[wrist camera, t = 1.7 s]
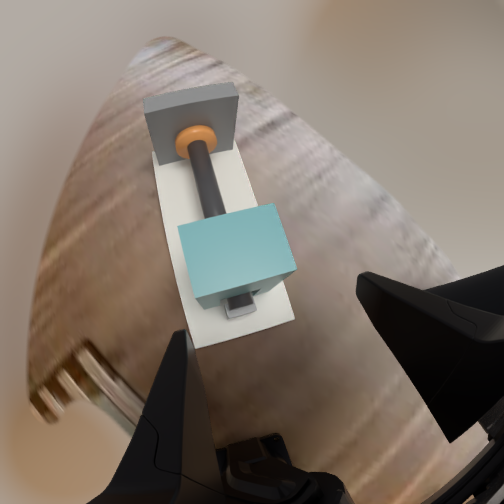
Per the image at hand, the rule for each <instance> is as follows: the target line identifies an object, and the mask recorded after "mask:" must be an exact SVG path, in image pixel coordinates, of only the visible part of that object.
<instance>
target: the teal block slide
mask: <svg viewBox="0 0 504 504" xmlns="http://www.w3.org/2000/svg"><path fill="white" fill-rule="evenodd" d="M238 99H239V95H238V92H237V90H236V88H235V86H234V83H233V82H228V83H220V84H213V85H206V86H200V87H194V88H189V89H184V90H179V91H174V92H169V93H165V94H161V95H156V96H152V97H148V98H145V99H143V104H144V115H145V118H146V122H147V126H148V129H149V133H150V136H151V140H152V143H153V147H154V150H155V151H153V152H152V156H153V163H154V170H155V177H156V183H157V189H158V195H159V201H160V206H161V211H162V217H163V222H164V227H165V232H166V237H167V242H168V246H169V251H170V255H171V260H172V264H173V268H174V273H175V277H176V281H177V285H178V289H179V293H180V297H181V300H182V304H183V308H184V312H185V315H186V319H187V322H188V326H189V329H190V333H191V336H192V340H193V343H194V346H195V349H197V348H201V347H205V346H208V345H212V344H216V343H219V342H223V341H227V340H230V339H234V338H237V337H240V336H244V335H247V334H250V333H254V332H257V331H260V330H263V329H267V328H270V327H273V326H276V325H279V324H282V323H285V322H288V321H291V320H294V319H295V317H294V314H293V311H292V308H291V305H290V301H289V298H288V295H287V292H286V289H285V286H284V283H283V281H281V282H280V283H279V284H278V285H276V286H275V287H274V288H272V289H271V290H270V291H268V292H265V293H262V294H258V295H255V296H253V294H252V291H251V292H247V293H244V294H240V295H237V296H233V297H230V298H226V299H223V300H220V306H216V307H213V308H209V309H205V310H204V309H203V308H202V307H201V305H200V304H199V303H198V301H197V300H196V299H195V297H194V293H193V289H192V285H191V281H190V278H189V274H188V270H187V266H186V262H185V258H184V253H183V249H182V245H181V241H180V236H179V232H178V227H177V226H179V225H183V224H187V223H191V222H195V221H199V220H203V219H207V218H211V217H215V216H219V215H223V214H227V213H231V212H236V211H240V210H244V209H249V208H253V207H258V205H257V202H256V199H255V196H254V193H253V190H252V187H251V185H250V182H249V179H248V176H247V173H246V170H245V167H244V165H243V162H242V159H241V156H240V153H239V150H238V148H237V145H236V142H235V139H234V133H235V124H236V116H237V107H238Z"/></svg>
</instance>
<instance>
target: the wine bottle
mask: <svg viewBox="0 0 504 504" xmlns="http://www.w3.org/2000/svg"><path fill="white" fill-rule="evenodd" d="M423 291H426V292H428V293H431V294H434V295H437V296H440V297H442V298H445V299H448V300H451V301H453V302H456V303H459V304H462V305H465V306H468V307H472V308H475V309H478V310H482V311H486V312H489V313H493V314H496V315H500V316H504V265H503V266H500V267H497V268H495V269H492V270H489V271H486V272H483V273H480V274H477V275H473V276H470V277H468V278H464V279H461V280H458V281H454V282H451V283H447V284H444V285H441V286H437V287H433V288H430V289H426V290H423Z"/></svg>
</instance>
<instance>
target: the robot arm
mask: <svg viewBox="0 0 504 504" xmlns="http://www.w3.org/2000/svg"><path fill="white" fill-rule="evenodd" d="M356 295H357V298H358V299H359V301H360V303H361V305H362V306H363V308H364V310H365V312H366V313H367V315H368V317H369V319H370V320H371V322H372V324H373V326H374V327H375V329H376V330H377V332H378V333H379V334H380V336H381V337H382V339H383V340H384V342H385V343H386V344H387V346H388V347H389V349H390V350H391V352H392V353H393V355H394V356H395V357H396V359H397V360H398V362H399V363H400V365H401V366H402V368H403V369H404V371H405V372H406V374H407V375H408V377H409V378H410V380H411V381H412V383H413V385H414V386H415V388H416V389H417V391H418V392H419V394H420V395H421V397H422V399H423V400H424V402H425V403H426V405H427V407H428V408H429V410H430V412H431V413H432V415H433V417H434V418H435V420H436V422H437V423H438V425H439V427H440V428H441V430H442V432H443V433H444V435H445V437H446V438H447V440H448V442H449V443H452V442H453V441H454V440H456V439H457V438H458V437H459V436H461V435H462V434H463V433H464V432H466V431H467V430H468V429H469V428H470V427H472V426H473V425H474V424H475V423H476V422H477V421H478V422H479V424H480V425H481V426H482V428H483V429H484V430H485V432H486V433H488V441H489V443H488V444H487V445H486V446H485V448H484V449H483V450H482V451H481V452H480V453H479V454H478V455H477V456H476V457H475V458H474V459H473V460H472V461H471V462H470V463H469V464H468V465H467V466H466V467H465V468H464V469H463V470H462V471H460V472H459V473H458V474H457V475H456V476H455V477H454V478H453V479H451V480H450V481H449V482H448V483H447V484H446V485H444V486H443V487H442V488H441V489H439V490H438V491H437V492H436V493H434V494H433V495H432V496H431V497H429V498H428V499H426V500H425V501H424V502H422V503H421V504H462V503H464V502H465V501H466V500H467V499H468V498H469V497H470V496H471V495H472V494H473V496H474V497H475V498H473V499H472V500H470V501H469V502H467V503H466V504H504V316H500V315H496V314H493V313H489V312H486V311H482V310H478V309H475V308H472V307H468V306H465V305H462V304H459V303H456V302H453V301H451V300H448V299H445V298H442V297H440V296H437V295H434V294H431V293H428V292H426V291H423V290H420V289H417V288H414V287H412V286H409V285H406V284H403V283H400V282H398V281H395V280H392V279H389V278H386V277H383V276H380V275H377V274H375V273H372V272H368V271H367V272H364V273H361V274H359V275H358V277H357V285H356ZM142 414H143V415H141V416H140V419H139V422H138V424H137V427H136V429H135V432H134V435H133V437H132V439H131V441H130V443H129V446H128V448H127V450H126V452H125V454H124V456H123V458H122V460H121V462H120V464H119V466H118V468H117V470H116V472H115V474H114V476H113V478H112V480H111V482H110V483H109V485H108V486H107V488H106V489H105V490H104V491H103V492H102V493H101V494H100V495H98V496H97V497H95V498H94V499H92V500H91V501H90V502H88V503H87V504H355V503H354V502H353V500H352V498H351V496H350V494H349V493H348V491H347V489H346V487H345V485H344V483H343V482H342V481H341V480H340V479H339V478H338V477H337V476H335V475H332V474H329V473H326V472H309V473H308V472H306V471H303V470H301V469H298V468H296V467H293V466H292V463H291V460H290V458H289V455H288V452H287V449H286V446H285V444H284V441H283V438H282V436H281V435H280V434H279V433H274V434H271V435H268V436H265V437H262V438H252V439H249V440H245V441H241V442H238V443H234V444H230V445H228V446H227V447H226V448H222V449H217V450H215V446H214V441H213V436H212V430H211V424H210V418H209V412H208V406H207V399H206V393H205V388H204V383H203V380H202V376H201V372H200V369H199V365H198V361H197V357H196V353H195V349H194V346H193V344H192V342H191V339H190V337H189V335H188V333H187V331H186V330H185V329H183V330H179V331H175V332H174V333H173V335H172V338H171V340H170V342H169V345H168V347H167V350H166V352H165V355H164V357H163V360H162V362H161V365H160V367H159V370H158V372H157V375H156V377H155V380H154V382H153V385H152V387H151V390H150V393H149V395H148V398H147V401H146V403H145V406H144V409H143V411H142ZM276 437H279V439H278V440H274V438H276Z"/></svg>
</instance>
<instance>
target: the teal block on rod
mask: <svg viewBox="0 0 504 504" xmlns="http://www.w3.org/2000/svg"><path fill="white" fill-rule="evenodd" d="M177 227H178V232H179V236H180V241H181V245H182V249H183V253H184V258H185V262H186V266H187V270H188V274H189V278H190V281H191V285H192V289H193V293H194V297H195V299H196V300H197V301H198V303H199V304H200V305H201V307H202V308H203V309H204V310H205V309H209V308H213V307H216V306H220V300H223V299H226V298H230V297H233V296H237V295H240V294H244V293H247V292H251V291H252V294H253V296H255V295H258V294H262V293H265V292H268V291H270V290H271V289H272V288H274V287H275V286H276V285H278V284H279V283H280V282H281V281H283V280H284V279H285V278H287V277H288V276H289V275H291V274H292V273H293V272H294V271H296V270H297V267H296V264H295V261H294V258H293V255H292V252H291V249H290V247H289V244H288V241H287V238H286V235H285V232H284V229H283V227H282V224H281V221H280V218H279V215H278V213H277V210H276V207H275V204H274V203H271V204H267V205H262V206H258V207H253V208H249V209H244V210H240V211H236V212H231V213H227V214H223V215H219V216H215V217H211V218H207V219H203V220H199V221H195V222H191V223H187V224H183V225H179V226H177Z"/></svg>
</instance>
